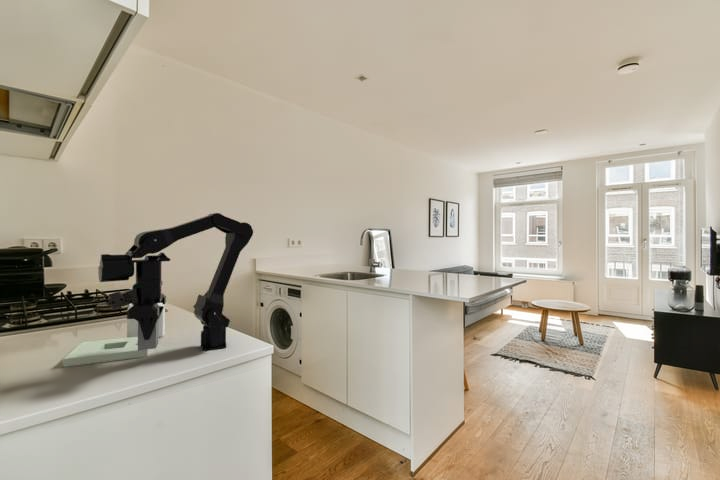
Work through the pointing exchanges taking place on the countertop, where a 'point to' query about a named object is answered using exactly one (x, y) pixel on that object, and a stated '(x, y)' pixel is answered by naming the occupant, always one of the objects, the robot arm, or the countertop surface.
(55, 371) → the countertop surface
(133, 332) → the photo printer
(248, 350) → the countertop surface
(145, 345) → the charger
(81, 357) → the outlet plate
